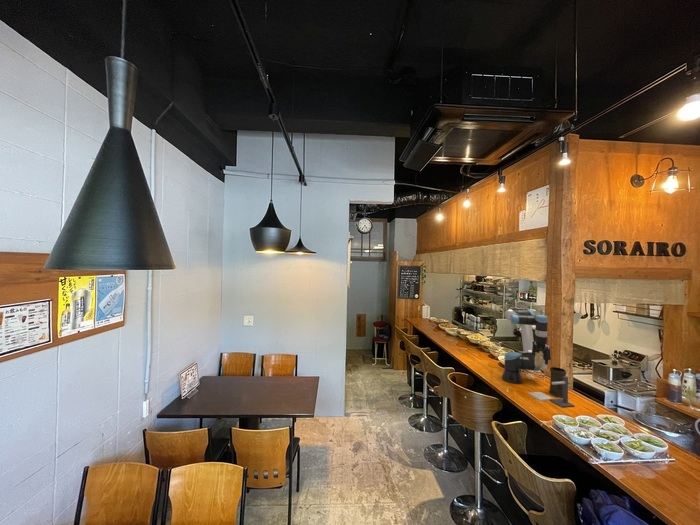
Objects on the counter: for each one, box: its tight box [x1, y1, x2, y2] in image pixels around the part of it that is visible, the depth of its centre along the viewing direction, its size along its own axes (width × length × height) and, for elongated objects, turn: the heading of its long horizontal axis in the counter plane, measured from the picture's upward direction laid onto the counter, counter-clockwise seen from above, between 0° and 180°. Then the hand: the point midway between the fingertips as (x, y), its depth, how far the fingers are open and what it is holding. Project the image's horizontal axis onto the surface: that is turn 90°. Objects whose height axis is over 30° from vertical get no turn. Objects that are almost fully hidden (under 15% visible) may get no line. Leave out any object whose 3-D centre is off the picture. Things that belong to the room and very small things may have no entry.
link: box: [535, 351, 548, 371], centre depth 213 cm, size 7×3×11 cm, turn 10°
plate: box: [527, 391, 554, 402], centre depth 213 cm, size 11×11×1 cm
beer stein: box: [548, 366, 567, 399], centre depth 220 cm, size 15×11×20 cm
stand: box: [549, 375, 575, 409], centre depth 203 cm, size 10×13×19 cm
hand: (540, 366), depth 213 cm, fingers closed on link, 7 cm apart
